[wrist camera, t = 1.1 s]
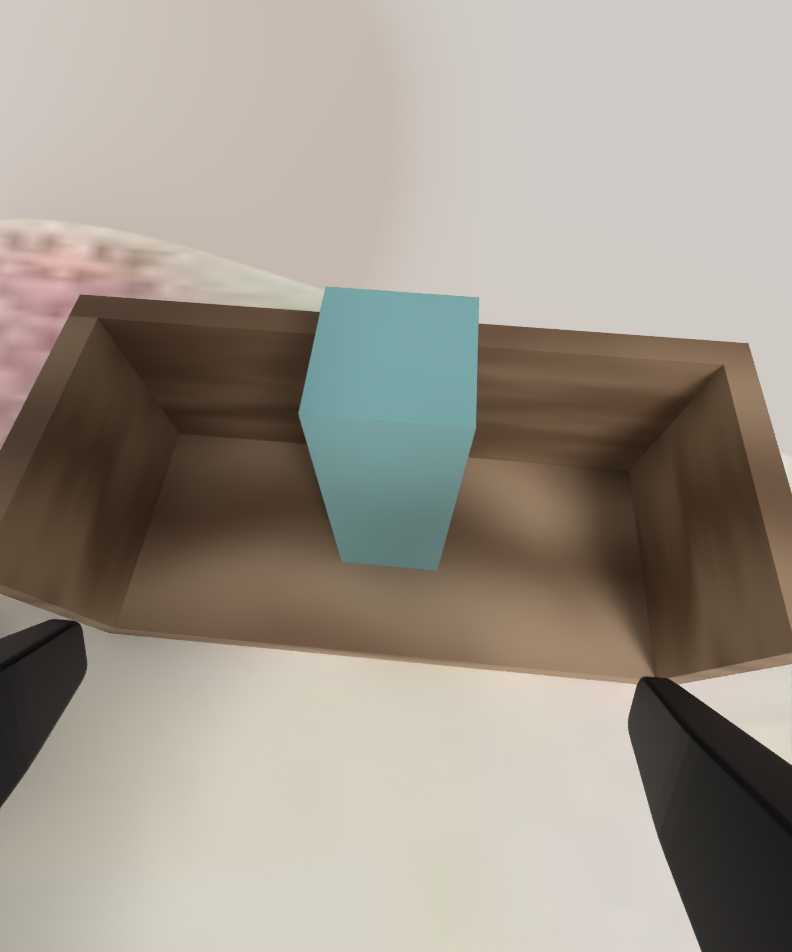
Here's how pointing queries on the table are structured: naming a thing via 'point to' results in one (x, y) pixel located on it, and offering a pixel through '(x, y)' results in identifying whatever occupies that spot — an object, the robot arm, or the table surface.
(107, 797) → the table surface
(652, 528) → the open box
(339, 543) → the pillar block
